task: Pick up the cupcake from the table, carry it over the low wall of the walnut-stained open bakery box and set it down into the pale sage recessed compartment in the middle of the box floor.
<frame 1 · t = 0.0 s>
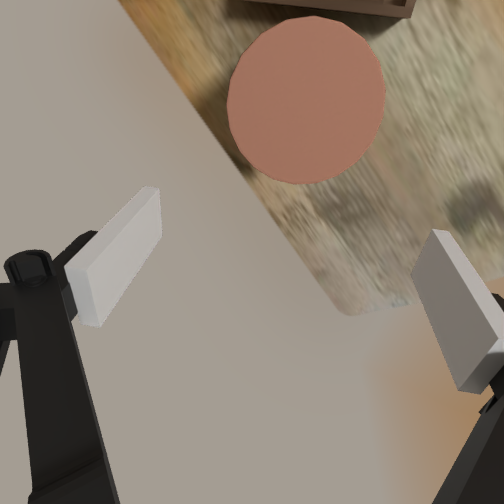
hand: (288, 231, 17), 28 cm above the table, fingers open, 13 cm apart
coffee jar: (304, 76, 38), on the table
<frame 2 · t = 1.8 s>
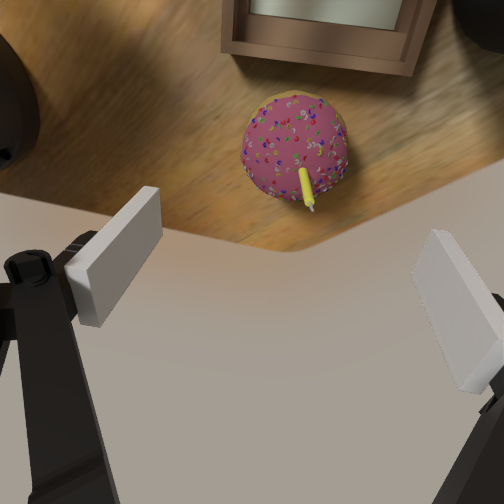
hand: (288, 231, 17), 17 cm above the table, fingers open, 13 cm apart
cupcake: (294, 134, 31), on the table
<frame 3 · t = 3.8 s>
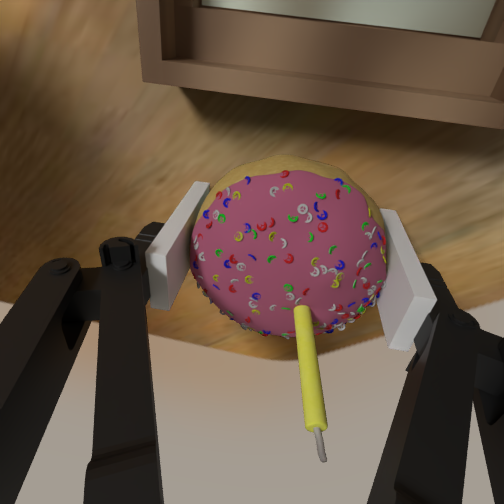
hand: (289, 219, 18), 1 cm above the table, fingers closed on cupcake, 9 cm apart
cupcake: (289, 208, 18), on the table, touching gripper
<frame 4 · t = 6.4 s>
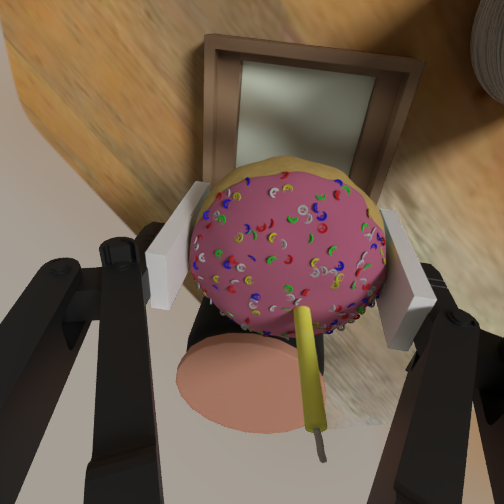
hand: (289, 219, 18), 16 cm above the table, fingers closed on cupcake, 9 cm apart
walled box: (297, 135, 31), on the table
cupcake: (289, 209, 19), point 15 cm above the table, touching gripper
coffee jar: (271, 249, 38), on the table
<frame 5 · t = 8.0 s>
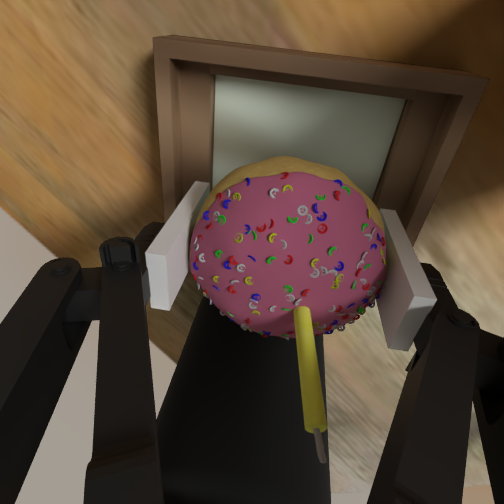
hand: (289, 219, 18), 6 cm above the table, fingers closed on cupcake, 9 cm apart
walled box: (293, 173, 22), on the table
cupcake: (289, 209, 19), point 5 cm above the table, touching gripper
coffee jar: (261, 309, 30), on the table
when the fingers open (3 cm above the table, at t = 9.2 s): cupcake drops 2 cm, resting on walled box.
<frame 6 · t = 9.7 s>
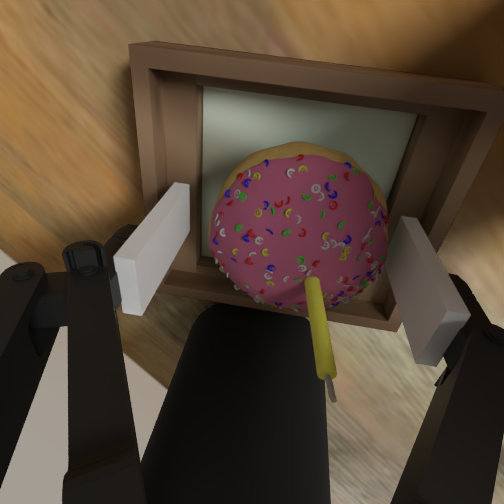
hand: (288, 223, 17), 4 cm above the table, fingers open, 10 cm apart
walled box: (291, 193, 20), on the table
cupcake: (298, 195, 20), resting on walled box
coffee jar: (257, 335, 28), on the table
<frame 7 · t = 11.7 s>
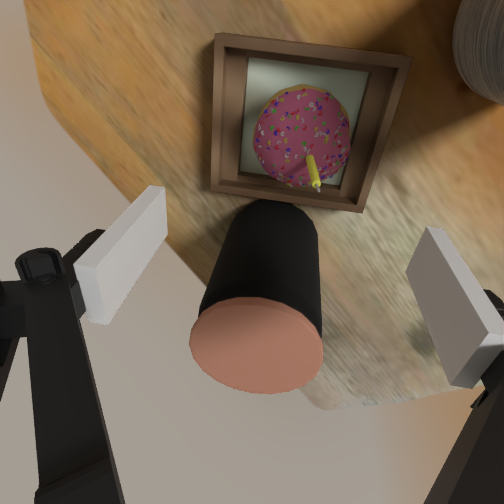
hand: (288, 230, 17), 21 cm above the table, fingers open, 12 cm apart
walled box: (297, 125, 33), on the table
cupcake: (301, 126, 33), resting on walled box
coffee jar: (273, 234, 41), on the table
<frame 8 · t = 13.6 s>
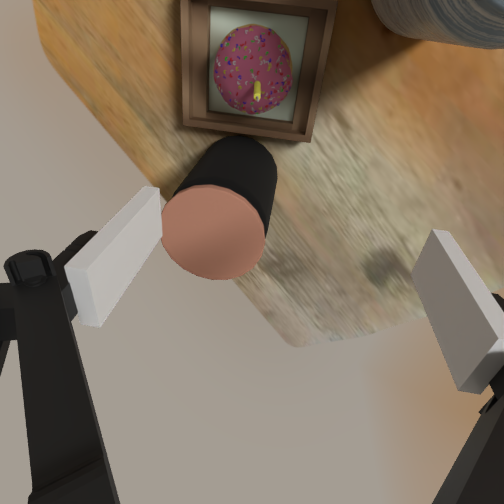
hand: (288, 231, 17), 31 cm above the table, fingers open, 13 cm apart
walled box: (254, 67, 40), on the table
cupcake: (257, 67, 40), resting on walled box
coffee jar: (240, 170, 48), on the table
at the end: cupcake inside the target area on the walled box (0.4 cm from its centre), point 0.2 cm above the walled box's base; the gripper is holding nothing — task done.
